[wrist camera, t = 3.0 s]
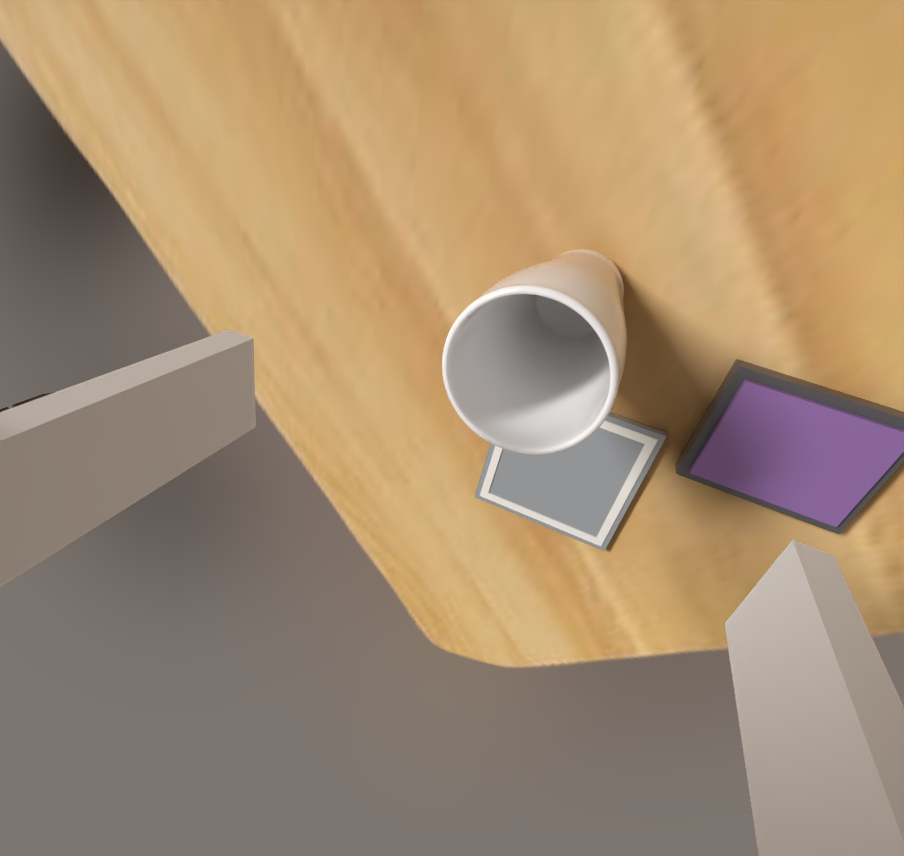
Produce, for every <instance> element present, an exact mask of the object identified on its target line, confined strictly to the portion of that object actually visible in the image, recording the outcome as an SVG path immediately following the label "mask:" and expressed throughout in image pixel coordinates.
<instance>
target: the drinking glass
mask: <svg viewBox="0 0 904 856" xmlns="http://www.w3.org/2000/svg"><path fill="white" fill-rule="evenodd" d="M623 299H624V284H623V279H622V276H621V274H620V272H619V270H618V268H617V267H616V265H615V264H614V263H613V262H612V261H611V260H610V259H609V258H608V257H606V256H605V255H603V254H601V253H599V252H596V251H593V250H588V249H575V250H570V251H567V252H564V253H562V254H560V255H558V256H556V257H555V258H553V259H550V260H547V261H544V262H541V263H538V264H535V265H532V266H529V267H526V268H523V269H521V270H519V271H517V272H514V273H512V274H510V275H509V276H507V277H505V278H503V279H502V280H500V281H499V282H497V283H496V284H494V285H493V286H491V287H490V288H489V289H488V290H486V291H485V292H484V293H482V294H481V295H480V296H479V297H478V298H477V299H476V300H475V301H474V302H473V303H471V304H470V305H469V306H468V307H467V308H466V309H465V310H464V311H463V312H462V313H461V314H460V315H459V317H458V318H457V319H456V321H455V322H454V324H453V326H452V328H451V329H450V331H449V334H448V336H447V339H446V342H445V345H444V350H443V357H442V373H443V380H444V385H445V388H446V392H447V394H448V397H449V399H450V401H451V403H452V405H453V407H454V409H455V410H456V412H457V414H458V415H459V416H460V418H461V419H462V420H463V421H464V422H465V424H466V425H467V426H468V427H469V428H470V429H471V430H473V431H474V432H475V433H476V434H477V435H479V436H480V437H481V438H483V439H484V440H486V441H488V442H489V443H491V444H493V445H495V446H497V447H500V448H502V449H505V450H508V451H512V452H515V453H521V454H529V455H543V454H551V453H556V452H560V451H563V450H566V449H569V448H571V447H573V446H575V445H577V444H579V443H581V442H582V441H584V440H585V439H587V438H588V437H590V436H591V435H592V434H593V433H594V432H595V431H596V430H597V429H598V428H599V427H600V426H601V425H602V423H603V422H604V421H605V419H606V418H607V416H608V415H609V413H610V411H611V409H612V407H613V404H614V402H615V399H616V395H617V392H618V389H619V386H620V383H621V379H622V376H623V372H624V366H625V361H626V353H627V327H626V319H625V312H624V304H623Z"/></svg>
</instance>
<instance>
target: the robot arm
mask: <svg viewBox="0 0 904 856" xmlns="http://www.w3.org/2000/svg"><path fill="white" fill-rule="evenodd" d="M254 427H256V420H255V383H254V346H253V338H251V337H248V336H245V335H243V334H240V333H237V332H235V331H232V330H226V331H224V332H221V333H218V334H215V335H213V336H210V337H207V338H204V339H201V340H199V341H196V342H193V343H190V344H188V345H185V346H182V347H179V348H177V349H174V350H171V351H168V352H166V353H163V354H160V355H157V356H154V357H152V358H149V359H146V360H143V361H141V362H138V363H135V364H132V365H130V366H127V367H124V368H121V369H118V370H116V371H113V372H110V373H107V374H105V375H102V376H99V377H96V378H94V379H91V380H88V381H85V382H83V383H80V384H77V385H74V386H71V387H69V388H66V389H63V390H61V391H58V392H53V393H48V394H42V395H39V396H37V397H34V398H31V399H28V400H25V401H23V402H20V403H17V404H14V405H13V407H12V408H7V407H6V408H3V409H0V587H1V586H3V585H4V584H5V583H7V582H9V581H11V580H12V579H13V578H15V577H17V576H18V575H20V574H22V573H23V572H25V571H26V570H28V569H30V568H31V567H33V566H34V565H36V564H38V563H39V562H41V561H42V560H44V559H46V558H47V557H49V556H50V555H52V554H54V553H55V552H57V551H58V550H60V549H62V548H63V547H65V546H66V545H68V544H69V543H71V542H73V541H74V540H76V539H77V538H79V537H81V536H82V535H84V534H85V533H87V532H89V531H90V530H92V529H93V528H95V527H97V526H98V525H100V524H101V523H103V522H105V521H106V520H108V519H109V518H111V517H113V516H114V515H116V514H117V513H119V512H121V511H122V510H124V509H125V508H127V507H129V506H130V505H132V504H133V503H135V502H137V501H138V500H139V499H141V498H143V497H144V496H146V495H148V494H149V493H151V492H152V491H154V490H155V489H157V488H159V487H160V486H162V485H164V484H165V483H167V482H168V481H170V480H172V479H173V478H175V477H176V476H178V475H180V474H181V473H183V472H184V471H186V470H188V469H189V468H191V467H192V466H194V465H196V464H197V463H199V462H200V461H202V460H203V459H205V458H206V457H208V456H210V455H211V454H213V453H215V452H216V451H218V450H219V449H221V448H222V447H224V446H226V445H227V444H229V443H231V442H232V441H234V440H235V439H237V438H239V437H240V436H242V435H243V434H245V433H247V432H248V431H250V430H251V429H253V428H254ZM725 630H726V637H727V643H728V650H729V657H730V664H731V670H732V677H733V684H734V690H735V697H736V703H737V711H738V717H739V724H740V731H741V737H742V745H743V751H744V758H745V765H746V772H747V778H748V785H749V792H750V798H751V805H752V811H753V819H754V825H755V832H756V839H757V846H758V852H759V856H904V706H903V704H902V702H901V700H900V697H899V695H898V693H897V691H896V689H895V687H894V684H893V682H892V680H891V678H890V676H889V674H888V671H887V669H886V667H885V665H884V663H883V661H882V658H881V656H880V654H879V652H878V650H877V648H876V646H875V643H874V641H873V639H872V637H871V635H870V632H869V630H868V628H867V626H866V624H865V622H864V619H863V617H862V615H861V613H860V611H859V609H858V606H857V604H856V602H855V600H854V598H853V596H852V593H851V591H850V589H849V587H848V585H847V583H846V580H845V578H844V576H843V574H842V572H841V570H840V567H839V565H838V563H837V561H836V559H835V557H834V555H832V554H830V553H827V552H824V551H822V550H819V549H816V548H814V547H811V546H808V545H806V544H803V543H800V542H797V541H795V540H792V541H791V542H790V543H789V545H788V546H787V547H786V548H785V550H784V551H783V552H782V553H781V555H780V556H779V557H778V558H777V559H776V561H775V562H774V563H773V564H772V566H771V567H770V568H769V569H768V571H767V572H766V573H765V574H764V576H763V577H762V578H761V579H760V580H759V582H758V583H757V584H756V585H755V587H754V588H753V589H752V590H751V592H750V593H749V594H748V595H747V597H746V598H745V599H744V600H743V602H742V603H741V604H740V605H739V606H738V608H737V609H736V610H735V611H734V613H733V614H732V615H731V616H730V618H729V619H728V620H727V621H726V623H725Z"/></svg>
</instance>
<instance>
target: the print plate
mask: <svg viewBox="0 0 904 856" xmlns="http://www.w3.org/2000/svg"><path fill="white" fill-rule="evenodd" d="M666 437H667V433H666V432H663V431H661V430H658V429H655V428H652V427H649V426H647V425H644V424H641V423H638V422H635V421H633V420H630V419H627V418H624V417H621V416H619V415H616V414H613V413H609V415H608V416H607V418H606V419H605V421H604V422H603V423H602V425H601V426H600V427H599V428H598V429H597V430H596V431H595V432H594V433H593V434H592V435H591V436H590V437H588V438H587V439H585V440H584V441H582V442H581V443H579V444H577V445H575V446H573V447H571V448H569V449H566V450H563V451H560V452H556V453H551V454H543V455H529V454H521V453H515V452H512V451H508V450H505V449H502V448H500V447H497V446H495V445H493V444H490V447H489V451H488V454H487V457H486V460H485V464H484V467H483V470H482V474H481V477H480V480H479V483H478V487H477V490H476V493H475V497H476V498H478V499H481V500H483V501H486V502H488V503H490V504H493V505H495V506H497V507H500V508H502V509H505V510H507V511H509V512H512V513H514V514H517V515H519V516H521V517H524V518H526V519H528V520H531V521H533V522H536V523H538V524H540V525H543V526H545V527H548V528H550V529H552V530H555V531H557V532H560V533H562V534H564V535H567V536H569V537H571V538H574V539H576V540H579V541H581V542H583V543H586V544H588V545H591V546H593V547H595V548H598V549H600V550H602V551H605V549H606V547H607V545H608V543H609V542H610V540H611V538H612V536H613V534H614V532H615V531H616V529H617V527H618V525H619V523H620V521H621V520H622V518H623V516H624V514H625V512H626V510H627V509H628V507H629V505H630V503H631V501H632V499H633V498H634V496H635V494H636V492H637V490H638V488H639V487H640V485H641V483H642V481H643V479H644V477H645V476H646V474H647V472H648V470H649V468H650V466H651V465H652V463H653V461H654V459H655V457H656V455H657V453H658V452H659V450H660V448H661V446H662V444H663V442H664V441H665V439H666Z"/></svg>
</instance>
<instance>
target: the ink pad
mask: <svg viewBox="0 0 904 856" xmlns="http://www.w3.org/2000/svg"><path fill="white" fill-rule="evenodd" d="M903 462H904V412H902V411H899V410H896V409H892V408H889V407H886V406H883V405H880V404H877V403H873V402H870V401H867V400H864V399H861V398H858V397H854V396H851V395H848V394H845V393H842V392H839V391H835V390H832V389H829V388H826V387H823V386H820V385H817V384H813V383H810V382H807V381H804V380H801V379H798V378H794V377H791V376H788V375H785V374H782V373H779V372H775V371H772V370H769V369H766V368H763V367H760V366H756V365H753V364H750V363H747V362H744V361H741V360H737V359H736V361H735V363H734V364H733V366H732V368H731V370H730V371H729V373H728V375H727V376H726V378H725V380H724V382H723V383H722V385H721V387H720V389H719V390H718V392H717V394H716V395H715V397H714V399H713V401H712V402H711V404H710V406H709V408H708V409H707V411H706V413H705V414H704V416H703V418H702V420H701V421H700V423H699V425H698V427H697V428H696V430H695V432H694V433H693V435H692V437H691V439H690V440H689V442H688V444H687V446H686V447H685V449H684V451H683V452H682V454H681V456H680V458H679V459H678V461H677V463H676V474H679V475H681V476H684V477H687V478H689V479H692V480H695V481H697V482H700V483H703V484H705V485H708V486H711V487H713V488H716V489H719V490H721V491H724V492H727V493H730V494H732V495H735V496H738V497H740V498H743V499H746V500H748V501H751V502H754V503H756V504H759V505H762V506H764V507H767V508H770V509H772V510H775V511H778V512H780V513H783V514H786V515H788V516H791V517H794V518H797V519H799V520H802V521H805V522H807V523H810V524H813V525H815V526H818V527H821V528H823V529H826V530H829V531H831V532H834V533H837V534H839V533H840V532H841V531H842V530H843V529H844V528H845V527H846V526H847V524H848V523H849V522H850V521H851V520H852V519H853V518H854V517H855V516H856V514H857V513H858V512H859V511H860V510H861V509H862V508H863V507H864V506H865V504H866V503H867V502H868V501H869V500H870V499H871V498H872V497H873V496H874V495H875V493H876V492H877V491H878V490H879V489H880V488H881V487H882V486H883V485H884V483H885V482H886V481H887V480H888V479H889V478H890V477H891V476H892V475H893V473H894V472H895V471H896V470H897V469H898V468H899V467H900V466H901V465H902V463H903Z"/></svg>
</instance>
